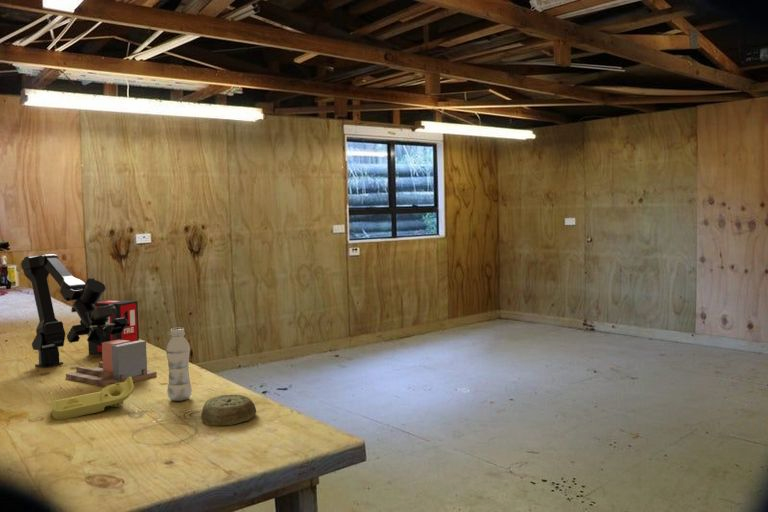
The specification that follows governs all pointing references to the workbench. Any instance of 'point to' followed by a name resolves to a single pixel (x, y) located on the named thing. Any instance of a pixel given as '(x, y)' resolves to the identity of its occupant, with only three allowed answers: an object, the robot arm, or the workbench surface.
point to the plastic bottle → (178, 366)
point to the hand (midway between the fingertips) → (110, 349)
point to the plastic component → (92, 401)
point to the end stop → (129, 359)
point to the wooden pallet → (103, 376)
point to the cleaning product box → (123, 311)
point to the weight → (227, 410)
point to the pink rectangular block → (109, 353)
